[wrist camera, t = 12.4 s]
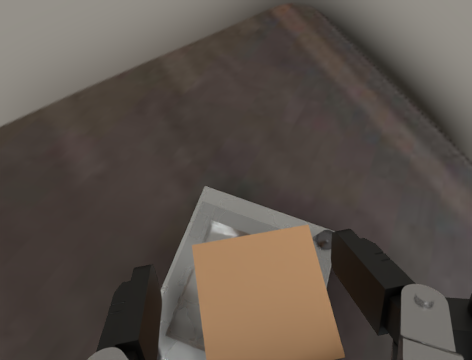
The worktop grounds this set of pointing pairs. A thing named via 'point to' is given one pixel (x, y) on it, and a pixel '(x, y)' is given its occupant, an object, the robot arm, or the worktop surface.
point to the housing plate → (183, 270)
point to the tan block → (265, 298)
